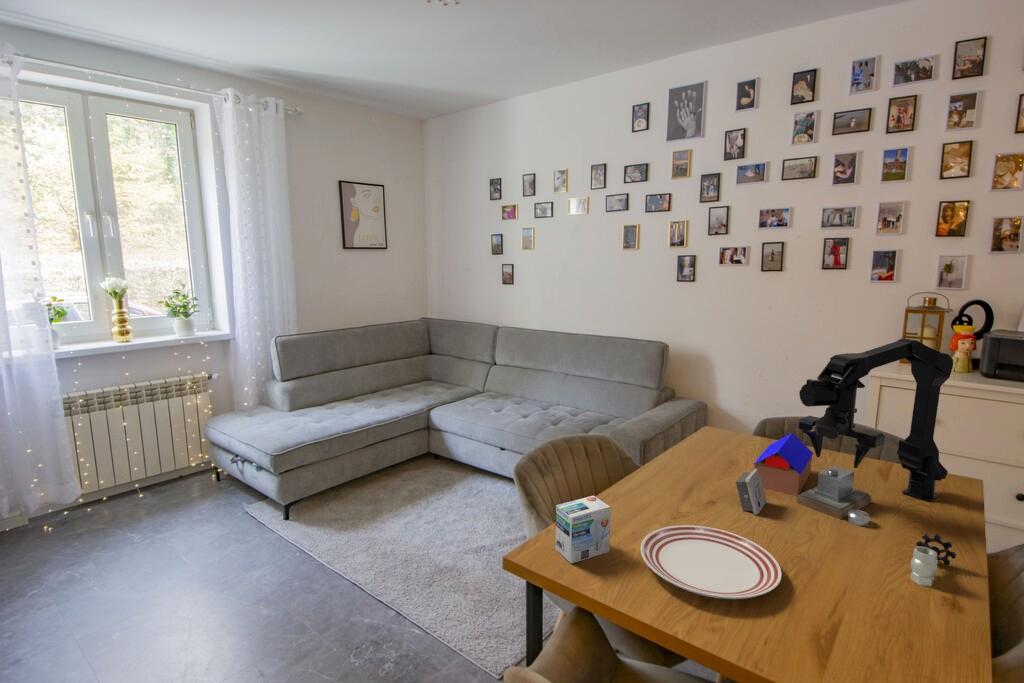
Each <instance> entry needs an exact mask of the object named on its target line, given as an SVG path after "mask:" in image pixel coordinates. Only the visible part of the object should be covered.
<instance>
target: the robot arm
mask: <svg viewBox="0 0 1024 683" xmlns="http://www.w3.org/2000/svg"><path fill="white" fill-rule="evenodd" d="M903 359H905V360H906V361H907V362H909V363H910V371H911V374H912V376H913V378H914V380H915V382H916V383H915V384H916V386H915V395H914V401H913V408H912V414H911V421H910V423H911V424H910V430H909V435H908V436H907V437H906V438H905V439H904V440H902V439H900V440H899V441H898V448H897V451H896V455H898V456H897V457H898V460H899V461H900V464H901V468H902V469H905V470H907V471H909V475H908V482H907V488H905V489H903V490H902V491H901V492H902V494H904V495H908V496H910V497H913V498H917V499H919V500H923V501H927V502H932V501H934V500H935V499H937V498H938V497H940V494H939V493H937V492H935V490H936V482H937V481H938V482H939V481H942V480H944V479H946V477H947V476H948V471H949V470H947V469H946V467H945V466H944V465H943V464H942V463H941V462H940V450H939V448H938V446H937V444H936V443H935V440H934V436H935V429H936V421H937V415H938V409H939V408H938V407H939V400H940V393H941V388H942V385H944V384H945V383H946V381H948V380H949V378H950V377H951V374H952V370H953V367H954V359H953V358H952V357H951V355H949V354H948V353H944V352H941V351H938V350H936V349H935V348H932V347H929V346H928V345H926V344H924V343H922V341H920V340H917V339H916V340H915V339H910V338H899V339H898V340H896V341H893V342H890V343H887V344H884V345H881V346H878V347H875V348H872V349H869V350H866V351H863V352H858V353H857V352H855V353H848V352H847V353H841V354H835V355H833V356H831V357H830V359H829V361H828V363H827V364H826V365H825V367H824V368H823V369H822V371H821V372H820V373H819V374H818V376H817V377H816V378H817V379H811V378H810V379H806V383H805V384H804V385H802V386H801V388H800V390H799V399H800V401H801V404H802V405H803V406H805V407H824V406H825V407H826V408H825V412H824V415H823V416H821V417H819V416H818V417H817V416H814V415H813V416H812V415H808V416H804V417H801V418H800V419H799V420H798V422H797V429H799V430H802V432H803V433H804V434H806V435H807V437H809V439H810V441H811V444H812V448H813V449H814V453H815V456H816V458H819V457H821V454H822V449H823V440H824V437H826V438H828V439H830V440H836V439H837V438H839V436H843V437H848V438H852V439H855V440H856V442H857V443H855V449H856V450H855V456H854V462H853V468H854V469H857V468H859V466H860V465H861V463H862V462H863V460H864V458H865V456H866V455H867V454H868V453H869V451H870V450H871V449H873V448H874V449H875V448H877V447H881V446H883V445H885V440H886V437H885V435H884V433H883V432H880V431H875V430H872V429H868V428H867V429H865V430H862V431H858V430H854V429H855V428H856V425H857V424H856V423H854V421H855V414H858V413H857V412H858V408H856V403H857V402H856V399H857V391H858V389H864V388H866V385H865V384H864V383H863V382H862V381H861V379H862V378H864V377H866V376H868V375H869V374H870V372H871V370H874V369H876V368H879V367H882V366H886V365H888V364H892V363H894V362H897V361H901V360H903Z"/></svg>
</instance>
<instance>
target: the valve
mask: <svg viewBox="0 0 1024 683" xmlns="http://www.w3.org/2000/svg"><path fill="white" fill-rule="evenodd" d="M921 539H922V540H924V542H923V541H922V540H918V541H917V542H916V543H915V544H916V546H915V547H914V549H913V555H912V558H911V559H910V564H909V565H910V568H911V573H910V580H912V582H914V583H916V584H917V585H920V586H924V587H925V586H926V587H932V585H934V581H935V575H936V574H937V573H938V563H939V561H940V562H941V561H942V562H943V565H944V566H950V564H951V560H950V559H949V557H951V559H952V560H953V559H956V557H957V556H958V555H957V553H956V552H955V551H951V550H950V549H952V547H953V546H954V544H953V542H952V541H950V540H949V541H945V542H944V540H943V541H942V535H941V534H939V533H936V534H934V536H933V538H932V537H930V536H929V534H927V533H923V534H922V536H921ZM932 542H933V543H937V544H940V545H941V546H942V548H943V549H942V548H941V546H938V545H937V544H935V545H931V546H930V545H929V543H932ZM943 553H945V554H944V555H943V556H941V554H943Z"/></svg>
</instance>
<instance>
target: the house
mask: <svg viewBox="0 0 1024 683" xmlns="http://www.w3.org/2000/svg"><path fill="white" fill-rule="evenodd" d="M813 455H814V452H813V451H812V450H811V449H810V448H809V447H808V446H807V445H806V444H805V443H804V442H803V441H801V440H800V438H798V437H797V436H796V435H795V434H794V433H793V432H792V433H790V434H788V435H786V436H784V437H783V438H780V439H778V440H776V441H774V442H772V443H771V444H770V443H769V445H768V446H767V447H766V448H765V449H764V451H763V452H762V454H760V456H759V457H758V458H757V459H756V460H755V461H754V462H753V465H754V469H758V470H759V473H760V477H761V481H762V485H763V489H764V490H765V489H766V490H769V491H770V490H771V491H774V492H778V493H782V494H786V495H791V496H794V497H797V495H799V494H801V493H800V492H801V491H802V489H803V488H804V486H805V484H806V483H807V480H808V478H809V477H810V475H811V470H812V469H811V468H812V461H813V460H812V458H813ZM754 469H753V470H754Z"/></svg>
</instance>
